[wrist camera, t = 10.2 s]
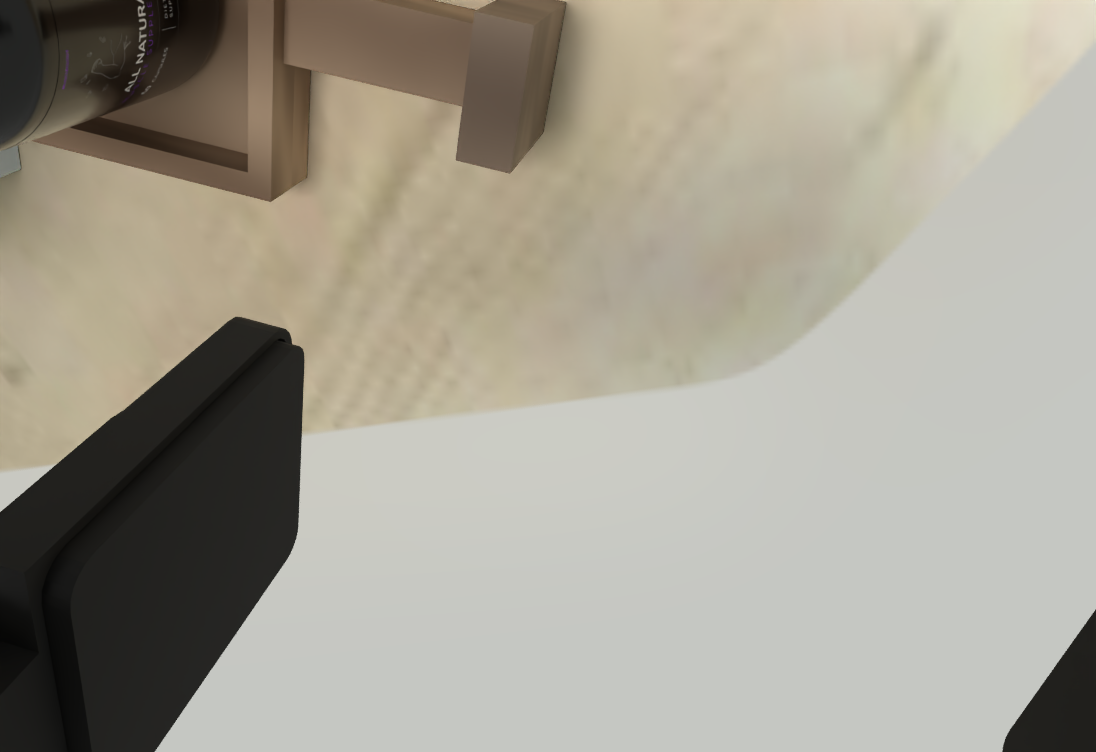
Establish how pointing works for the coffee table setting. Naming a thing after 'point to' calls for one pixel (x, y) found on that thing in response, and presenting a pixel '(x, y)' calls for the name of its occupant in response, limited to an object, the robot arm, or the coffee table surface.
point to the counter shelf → (9, 161)
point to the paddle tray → (345, 51)
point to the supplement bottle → (93, 58)
